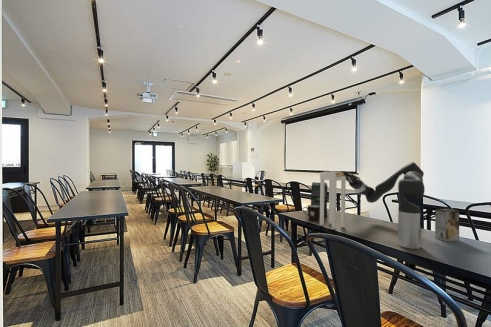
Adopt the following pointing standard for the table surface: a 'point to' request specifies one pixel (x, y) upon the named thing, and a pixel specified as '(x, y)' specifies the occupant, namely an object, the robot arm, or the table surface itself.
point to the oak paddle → (337, 173)
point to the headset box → (318, 196)
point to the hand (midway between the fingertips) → (342, 172)
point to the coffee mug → (313, 212)
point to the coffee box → (447, 224)
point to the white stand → (332, 198)
